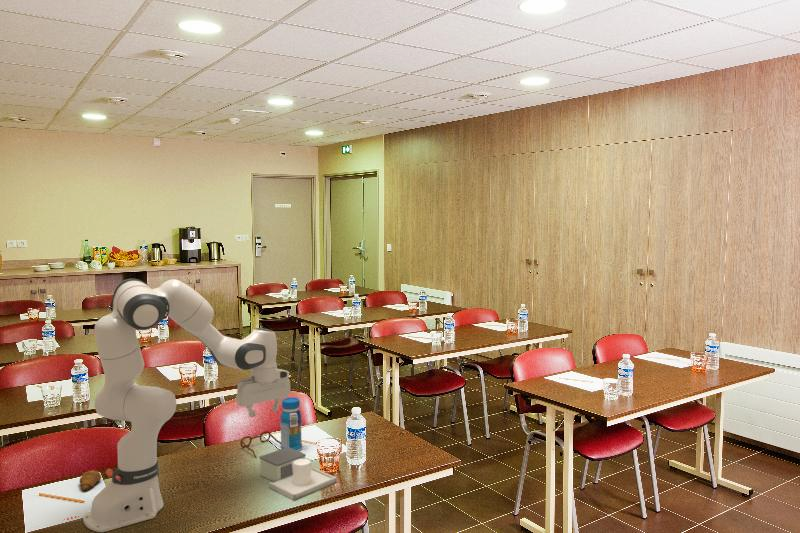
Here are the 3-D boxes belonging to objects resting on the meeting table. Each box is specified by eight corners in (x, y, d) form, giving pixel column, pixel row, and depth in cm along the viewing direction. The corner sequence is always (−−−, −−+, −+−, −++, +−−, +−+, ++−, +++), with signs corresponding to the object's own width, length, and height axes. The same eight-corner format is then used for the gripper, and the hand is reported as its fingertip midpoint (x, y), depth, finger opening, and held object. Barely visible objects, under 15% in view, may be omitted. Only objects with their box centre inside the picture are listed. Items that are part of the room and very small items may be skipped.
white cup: (314, 478, 205) (314, 458, 205) (309, 486, 199) (308, 466, 198) (295, 476, 206) (295, 457, 206) (289, 485, 200) (289, 465, 199)
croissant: (96, 492, 197) (96, 477, 197) (74, 494, 196) (73, 479, 195) (106, 475, 210) (105, 461, 210) (85, 477, 209) (84, 463, 208)
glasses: (269, 441, 244) (269, 429, 243) (285, 450, 234) (285, 438, 233) (239, 449, 235) (239, 437, 235) (255, 459, 225) (255, 446, 225)
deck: (294, 500, 191) (294, 480, 190) (250, 478, 208) (250, 459, 207) (336, 482, 204) (336, 463, 204) (292, 462, 221) (291, 445, 220)
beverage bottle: (276, 452, 231) (276, 401, 229) (285, 444, 239) (285, 395, 237) (297, 454, 229) (296, 403, 227) (305, 446, 237) (305, 397, 236)
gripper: (242, 381, 197) (242, 422, 197) (293, 371, 211) (292, 409, 212) (232, 377, 201) (232, 418, 201) (282, 368, 216) (282, 406, 216)
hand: (263, 413), depth 207 cm, fingers open, 8 cm apart
